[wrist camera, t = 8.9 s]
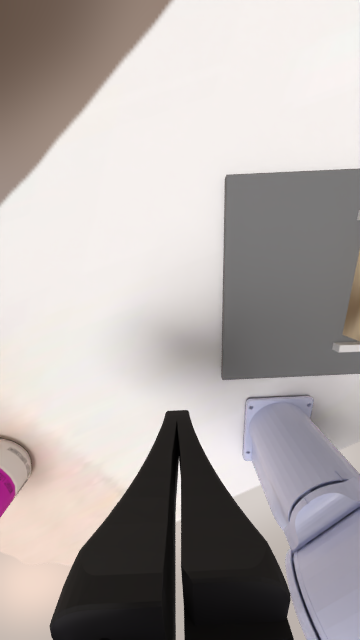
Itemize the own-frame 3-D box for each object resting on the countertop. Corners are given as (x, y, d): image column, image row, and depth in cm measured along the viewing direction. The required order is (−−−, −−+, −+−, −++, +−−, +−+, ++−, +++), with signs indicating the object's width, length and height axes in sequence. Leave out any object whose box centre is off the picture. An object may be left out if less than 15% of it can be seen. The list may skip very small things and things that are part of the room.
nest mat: (424, 367, 21) (441, 374, 20) (221, 376, 21) (224, 384, 20) (495, 165, 16) (524, 155, 14) (225, 178, 16) (229, 169, 14)
